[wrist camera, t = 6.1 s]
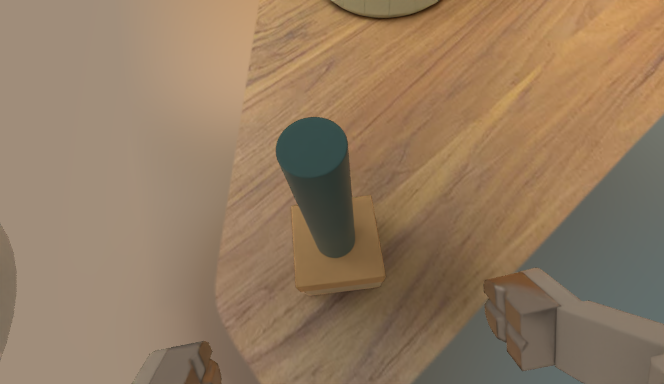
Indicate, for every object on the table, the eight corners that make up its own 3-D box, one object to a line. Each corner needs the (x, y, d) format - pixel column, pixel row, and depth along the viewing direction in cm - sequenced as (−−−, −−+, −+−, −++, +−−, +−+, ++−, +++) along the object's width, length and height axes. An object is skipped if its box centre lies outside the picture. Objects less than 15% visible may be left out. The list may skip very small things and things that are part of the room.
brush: (306, 297, 22) (231, 230, 10) (301, 226, 24) (235, 96, 12) (382, 288, 22) (406, 206, 9) (370, 217, 24) (376, 75, 12)
